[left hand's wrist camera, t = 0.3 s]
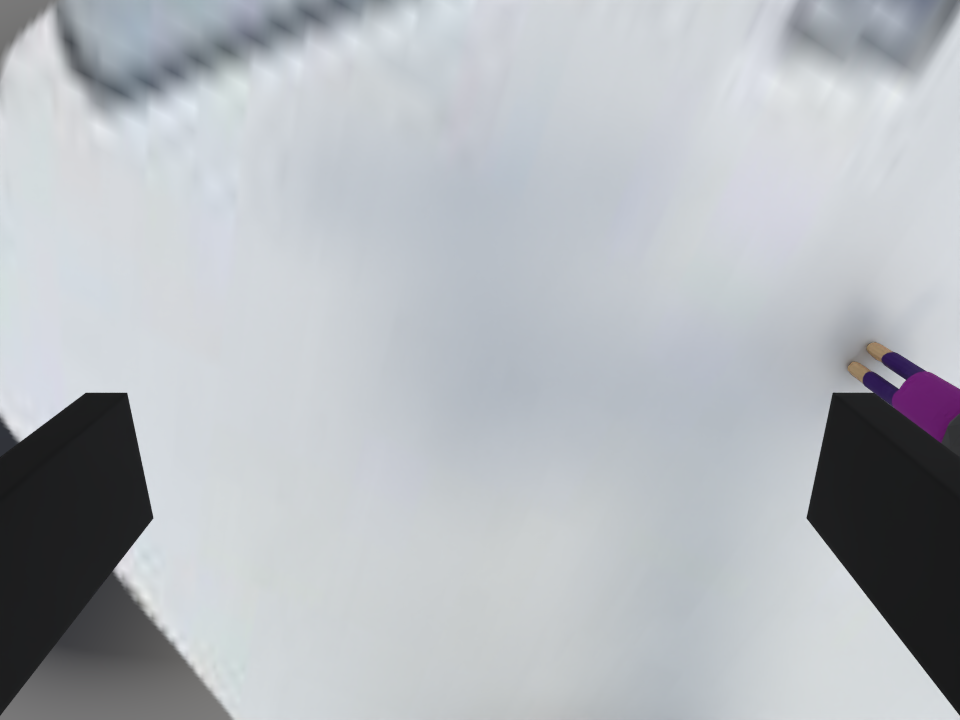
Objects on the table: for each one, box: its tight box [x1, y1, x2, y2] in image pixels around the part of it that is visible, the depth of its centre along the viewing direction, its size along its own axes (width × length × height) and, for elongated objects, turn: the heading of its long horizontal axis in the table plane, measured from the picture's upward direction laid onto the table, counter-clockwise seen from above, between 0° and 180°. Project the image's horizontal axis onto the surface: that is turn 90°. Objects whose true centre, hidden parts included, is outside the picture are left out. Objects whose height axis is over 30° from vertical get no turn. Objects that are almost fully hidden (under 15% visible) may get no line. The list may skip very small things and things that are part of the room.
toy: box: [848, 342, 960, 457], centre depth 35 cm, size 10×6×15 cm, turn 145°
